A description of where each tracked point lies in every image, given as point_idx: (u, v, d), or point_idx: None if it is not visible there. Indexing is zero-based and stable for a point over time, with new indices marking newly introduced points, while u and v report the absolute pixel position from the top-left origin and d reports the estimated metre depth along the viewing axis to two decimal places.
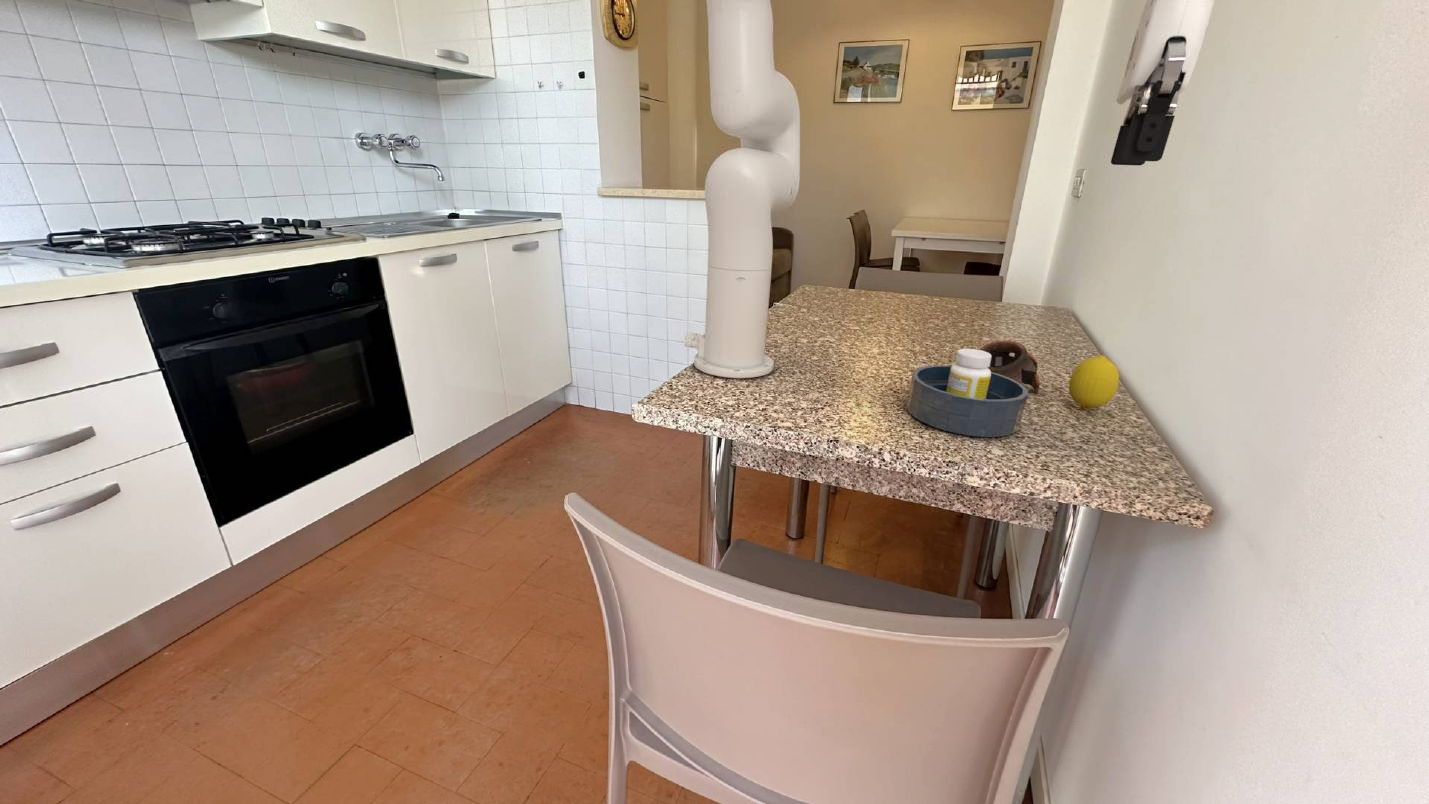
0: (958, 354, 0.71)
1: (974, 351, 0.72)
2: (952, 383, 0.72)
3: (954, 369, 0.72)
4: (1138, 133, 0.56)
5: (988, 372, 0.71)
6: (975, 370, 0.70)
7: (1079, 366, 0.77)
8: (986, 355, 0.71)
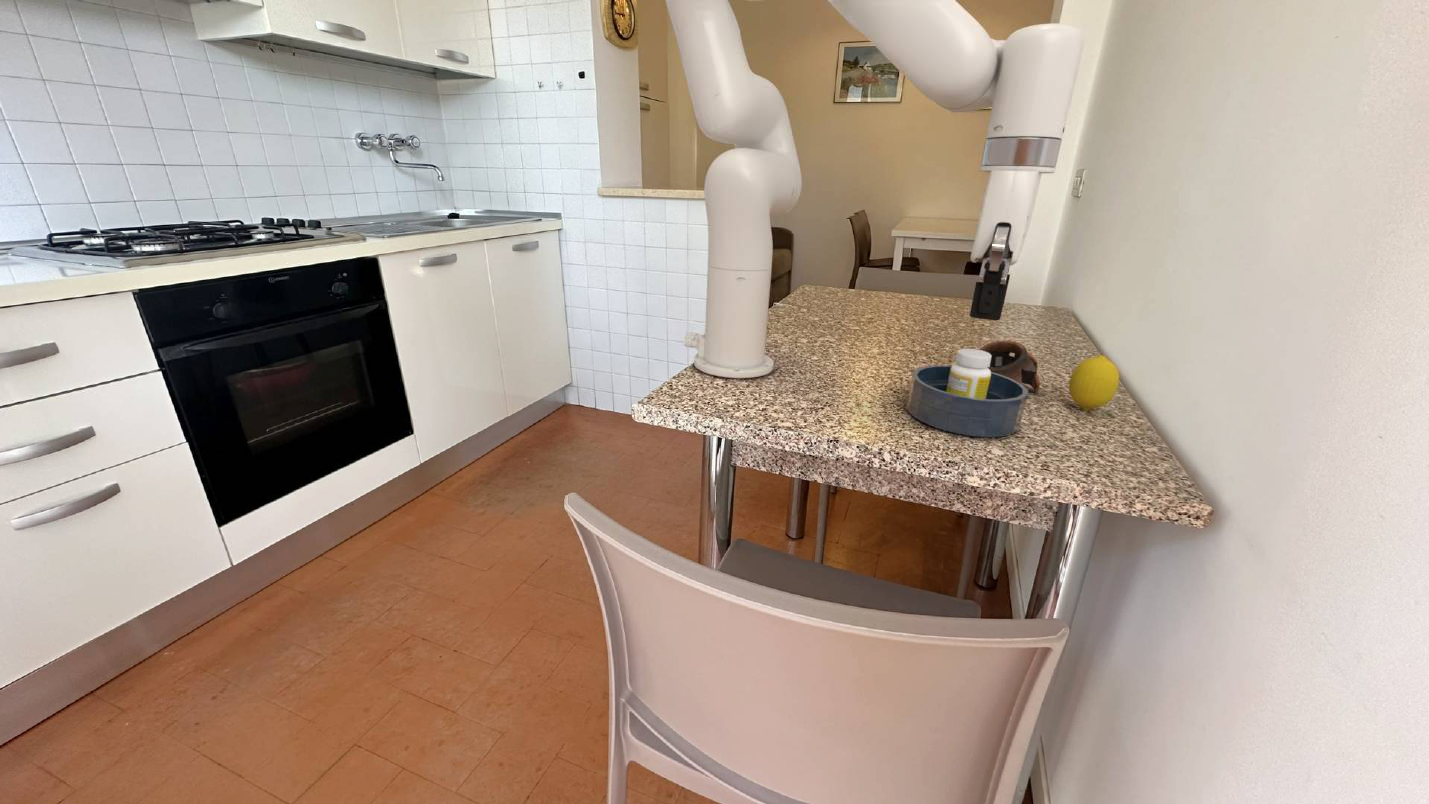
0: (958, 354, 0.71)
1: (974, 351, 0.72)
2: (952, 383, 0.72)
3: (954, 369, 0.72)
4: (980, 297, 0.65)
5: (988, 372, 0.71)
6: (975, 370, 0.70)
7: (1079, 366, 0.77)
8: (986, 355, 0.71)
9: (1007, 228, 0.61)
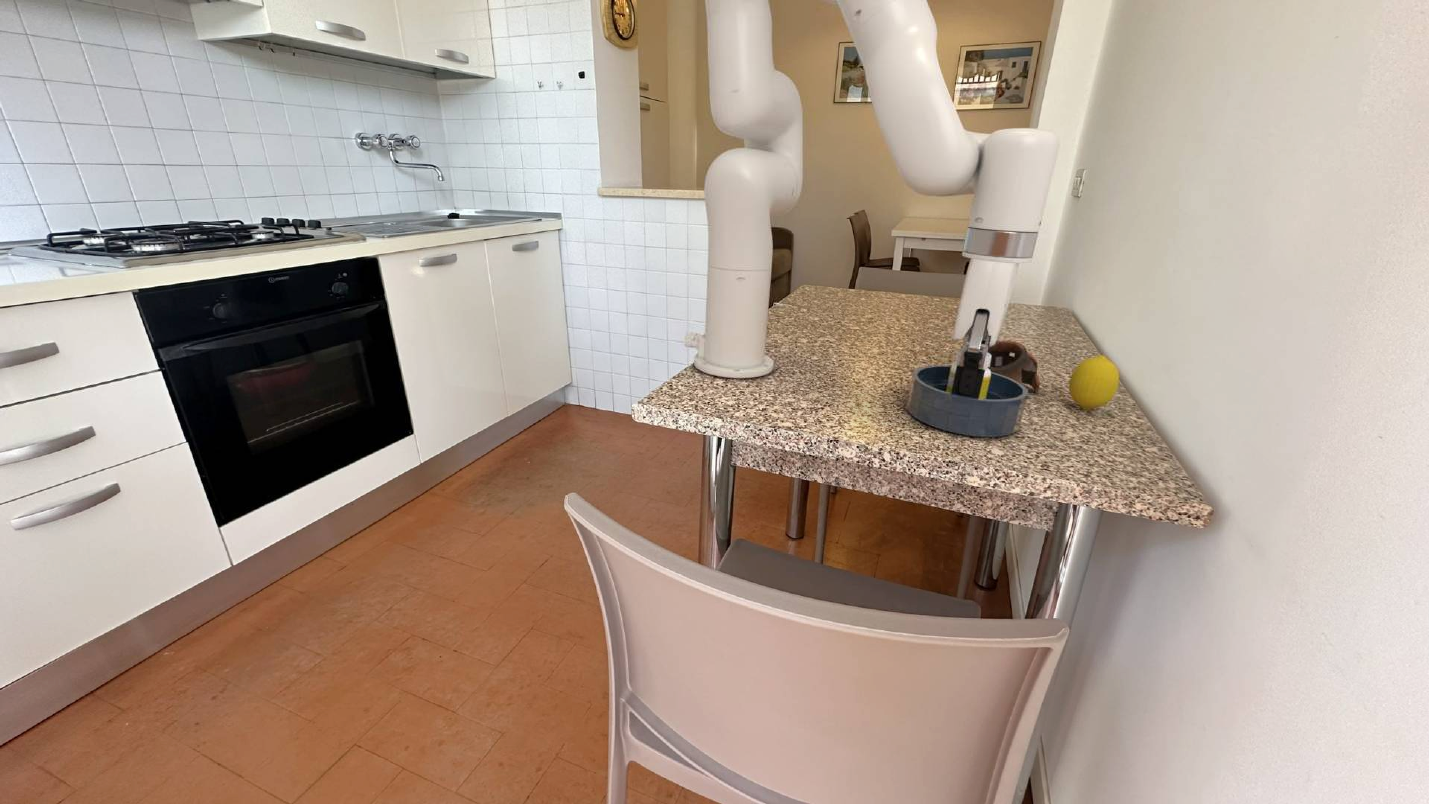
0: (958, 354, 0.71)
1: None
2: (952, 383, 0.72)
3: (954, 369, 0.72)
4: (960, 379, 0.70)
5: (988, 372, 0.71)
6: None
7: (1079, 366, 0.77)
8: (986, 355, 0.71)
9: (984, 321, 0.65)
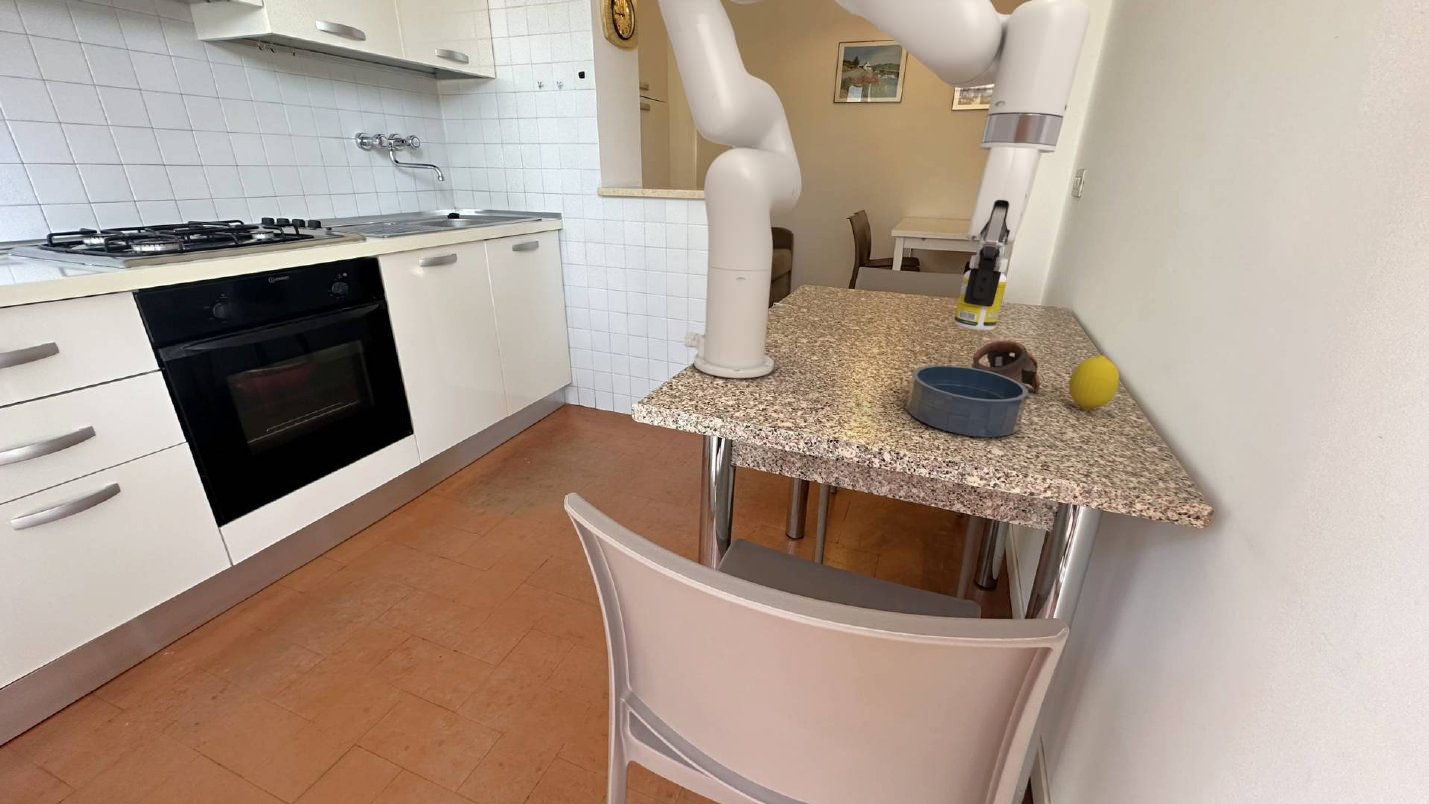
0: (973, 258, 0.68)
1: None
2: (965, 290, 0.68)
3: (968, 274, 0.68)
4: (974, 283, 0.66)
5: (1004, 277, 0.67)
6: None
7: (1079, 366, 0.77)
8: (1002, 259, 0.67)
9: (1003, 214, 0.61)
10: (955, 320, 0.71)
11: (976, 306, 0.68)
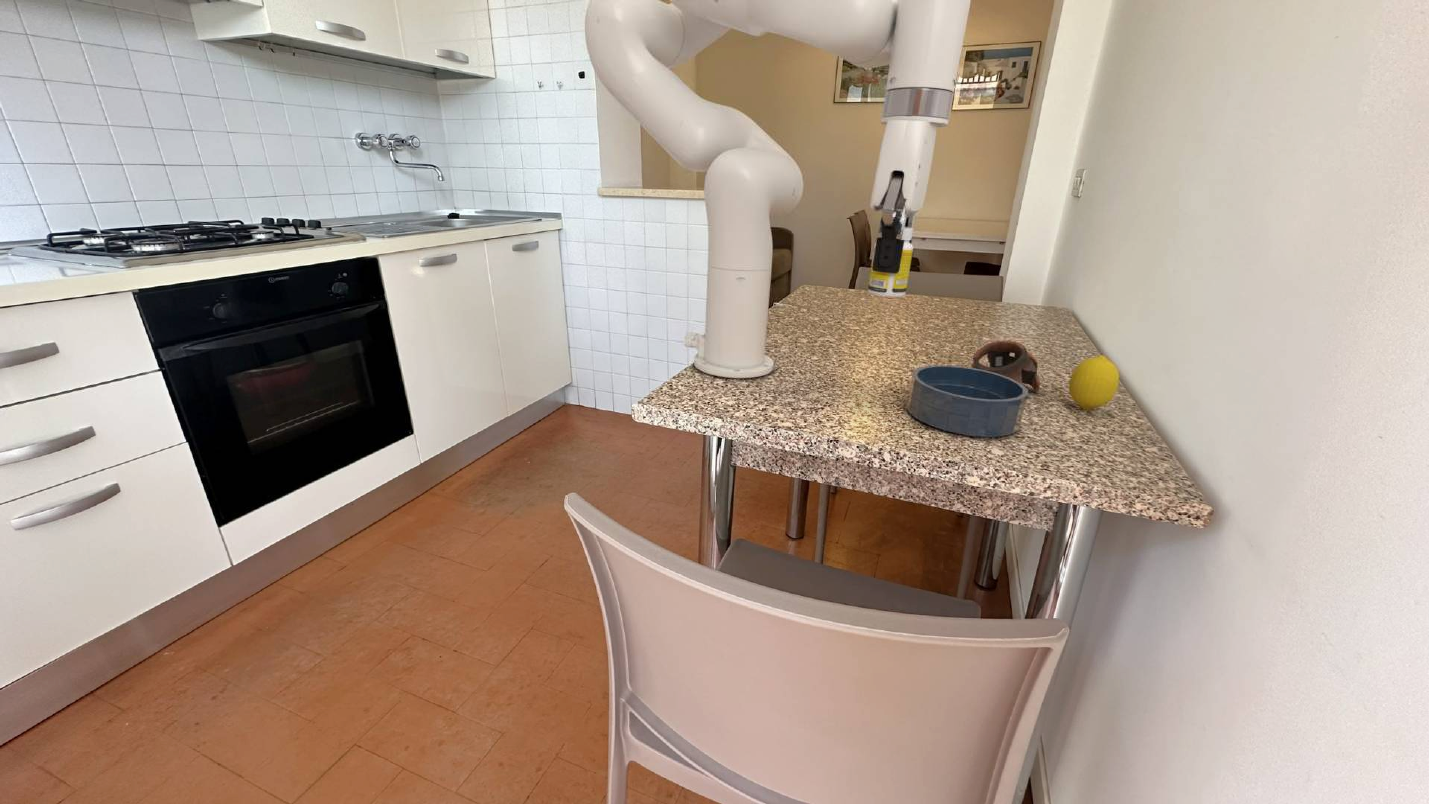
0: None
1: None
2: None
3: None
4: None
5: (909, 245, 0.70)
6: None
7: (1079, 366, 0.77)
8: (907, 228, 0.70)
9: (899, 183, 0.65)
10: (868, 288, 0.74)
11: (884, 273, 0.71)
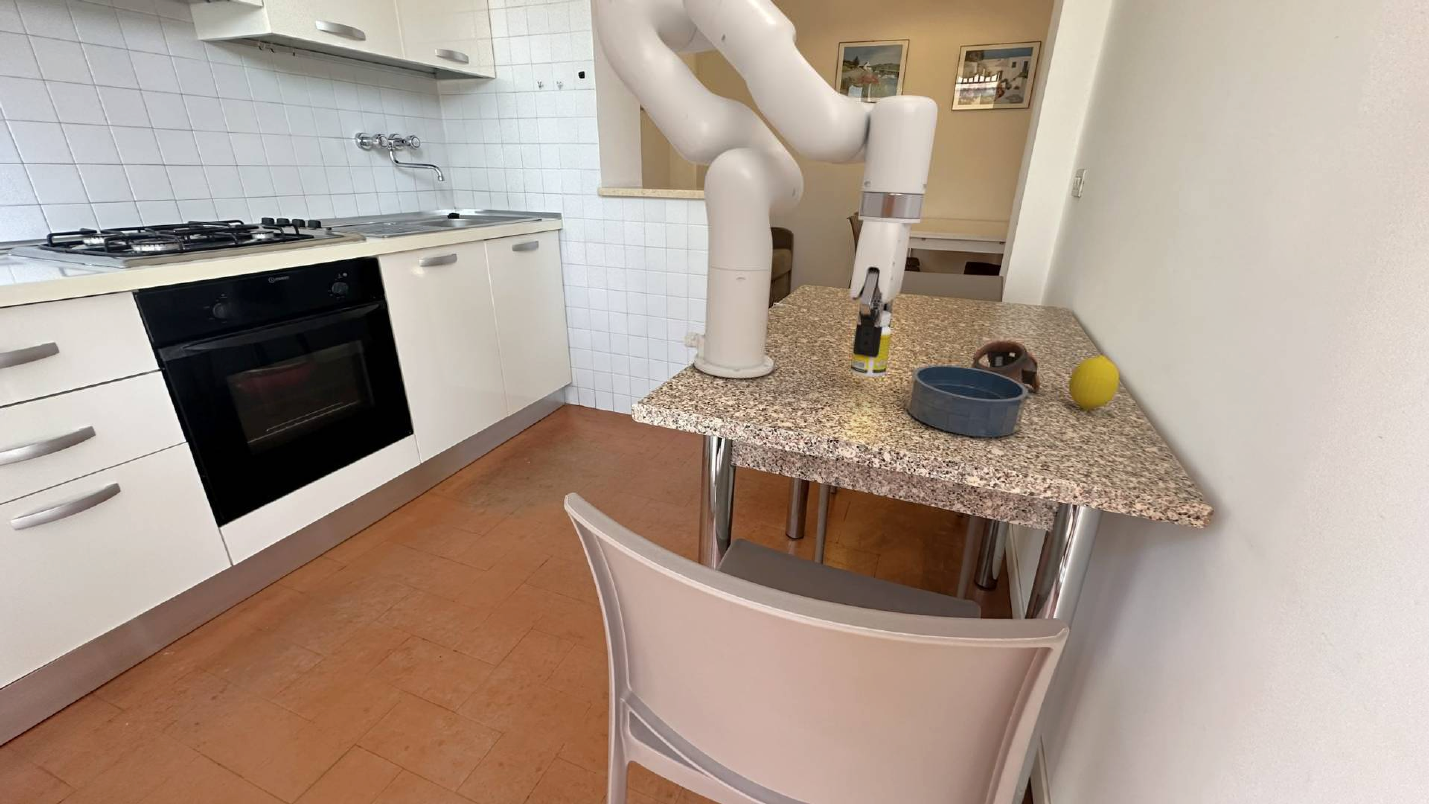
0: None
1: None
2: None
3: None
4: None
5: (887, 330, 0.75)
6: None
7: (1079, 366, 0.77)
8: (885, 314, 0.75)
9: (875, 279, 0.69)
10: None
11: (865, 356, 0.76)
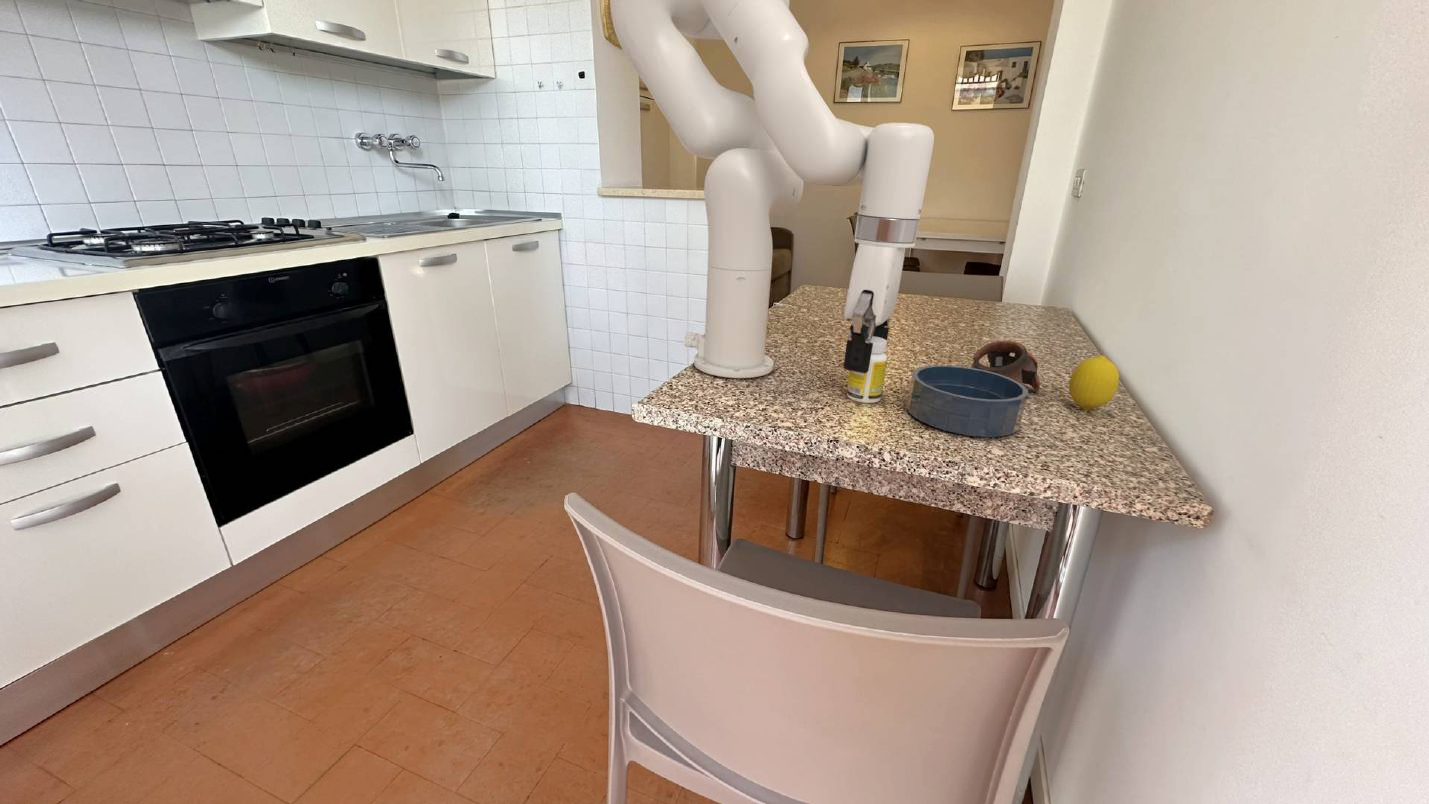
0: None
1: (872, 338, 0.78)
2: None
3: None
4: (851, 352, 0.73)
5: (883, 357, 0.76)
6: (871, 355, 0.76)
7: (1079, 366, 0.77)
8: (881, 341, 0.76)
9: (870, 295, 0.70)
10: (847, 392, 0.80)
11: (861, 382, 0.77)
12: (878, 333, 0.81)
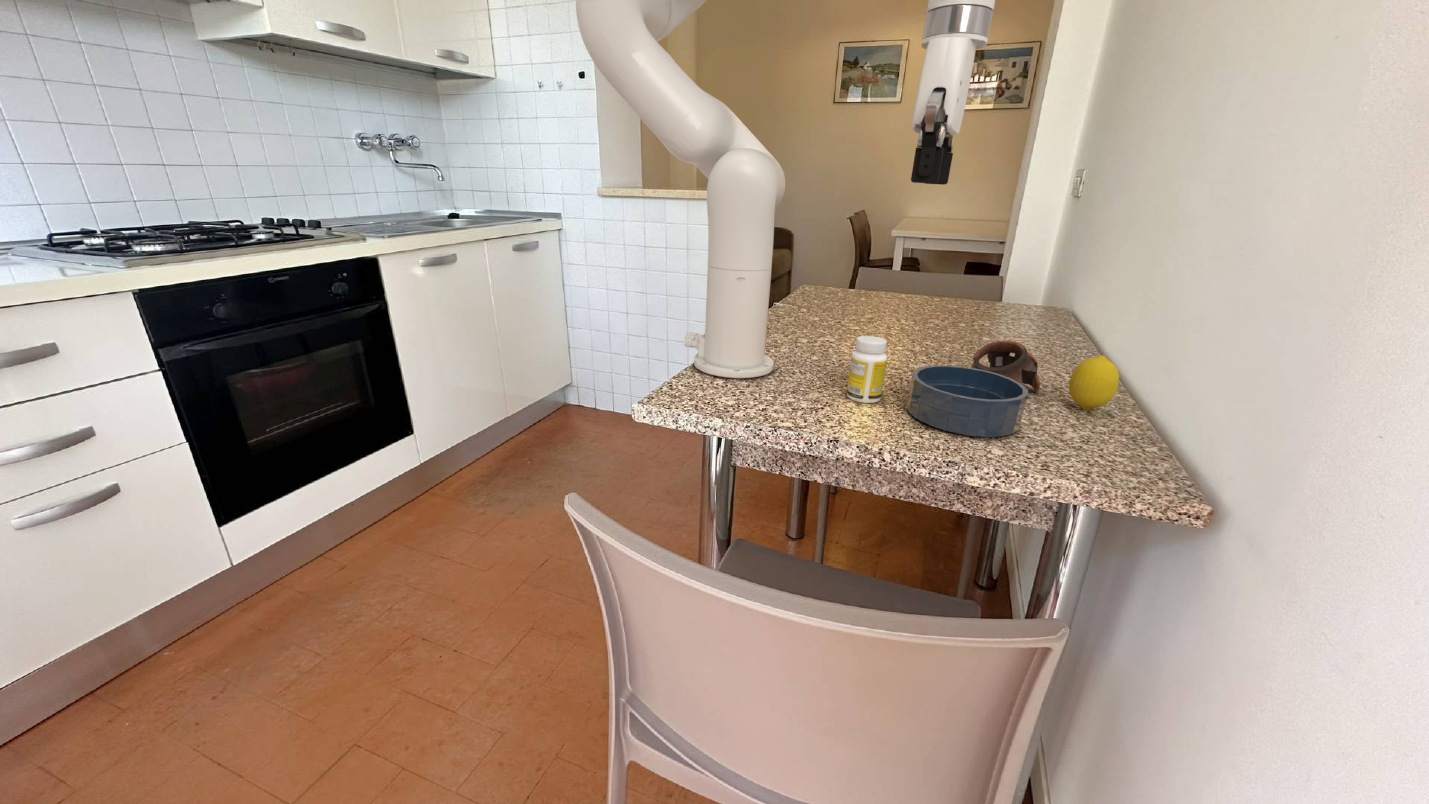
0: (857, 340, 0.77)
1: (872, 338, 0.78)
2: (852, 368, 0.78)
3: (854, 354, 0.77)
4: (919, 161, 0.70)
5: (883, 357, 0.76)
6: (871, 355, 0.76)
7: (1079, 366, 0.77)
8: (881, 341, 0.76)
9: (942, 92, 0.67)
10: (847, 392, 0.80)
11: (861, 382, 0.77)
12: (941, 159, 0.78)
